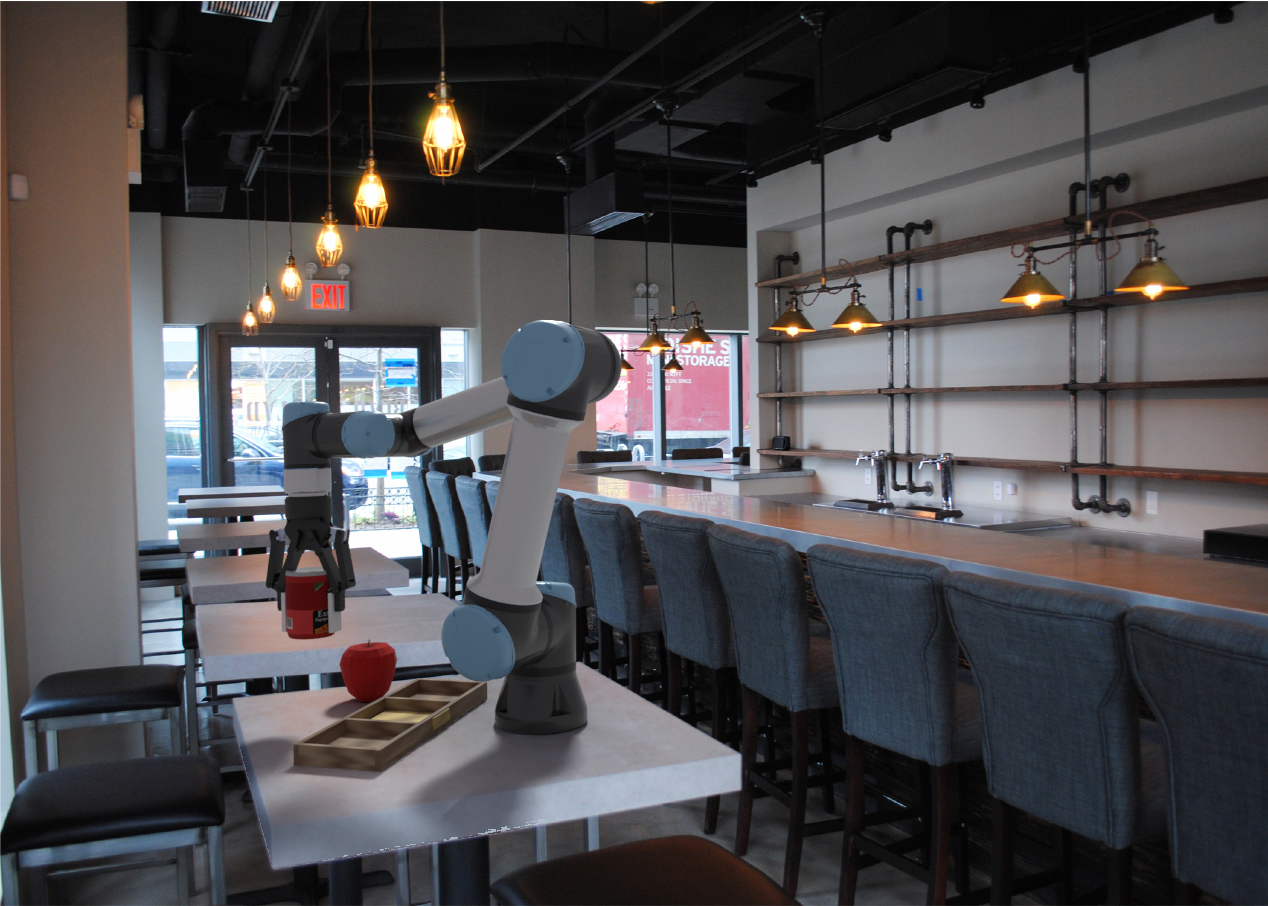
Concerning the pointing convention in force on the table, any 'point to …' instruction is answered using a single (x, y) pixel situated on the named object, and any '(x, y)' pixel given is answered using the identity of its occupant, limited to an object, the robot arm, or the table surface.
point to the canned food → (307, 603)
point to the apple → (368, 670)
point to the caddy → (390, 725)
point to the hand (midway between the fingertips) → (311, 630)
